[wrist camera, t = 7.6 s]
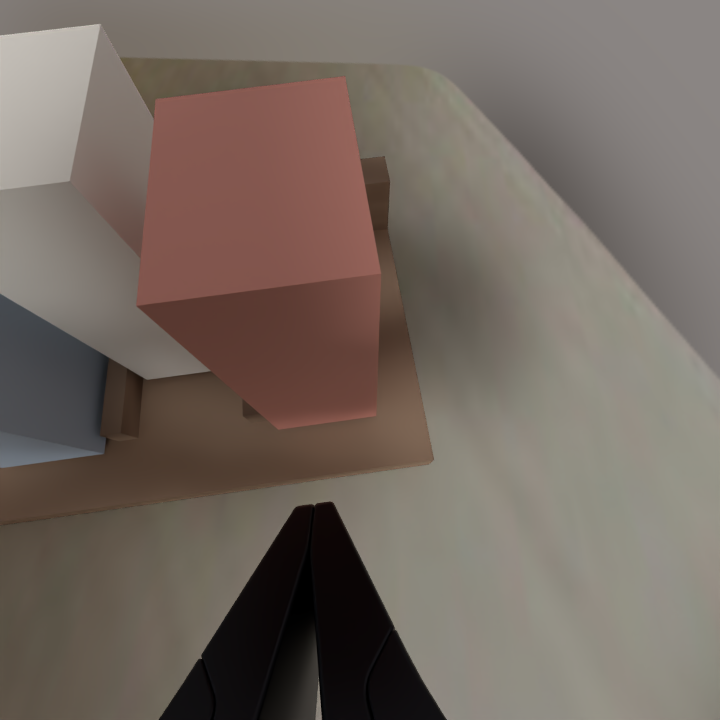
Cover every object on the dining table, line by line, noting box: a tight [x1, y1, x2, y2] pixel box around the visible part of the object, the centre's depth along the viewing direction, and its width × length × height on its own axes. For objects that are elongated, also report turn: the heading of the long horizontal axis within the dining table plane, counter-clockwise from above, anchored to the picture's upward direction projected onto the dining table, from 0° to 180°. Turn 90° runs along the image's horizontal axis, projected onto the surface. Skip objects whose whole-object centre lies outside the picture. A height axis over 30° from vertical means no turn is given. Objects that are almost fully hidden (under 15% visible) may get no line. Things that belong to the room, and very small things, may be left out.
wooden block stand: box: [0, 156, 434, 525], centre depth 17 cm, size 13×19×4 cm
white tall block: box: [0, 24, 210, 380], centre depth 13 cm, size 5×4×10 cm
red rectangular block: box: [136, 76, 381, 430], centre depth 12 cm, size 5×4×10 cm
